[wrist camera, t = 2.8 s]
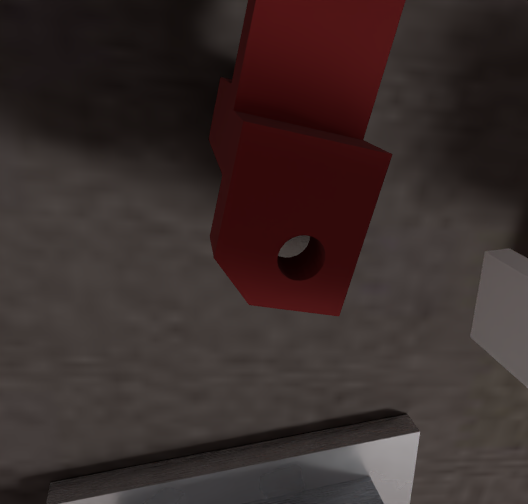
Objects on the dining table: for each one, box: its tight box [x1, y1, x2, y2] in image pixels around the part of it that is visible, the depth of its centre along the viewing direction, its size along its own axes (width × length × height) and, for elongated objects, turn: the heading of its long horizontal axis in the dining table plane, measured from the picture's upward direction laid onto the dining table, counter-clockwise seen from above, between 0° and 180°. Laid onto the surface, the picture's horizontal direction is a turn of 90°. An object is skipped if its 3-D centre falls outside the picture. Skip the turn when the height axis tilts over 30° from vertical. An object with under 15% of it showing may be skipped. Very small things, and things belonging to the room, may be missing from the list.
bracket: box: [209, 0, 405, 316], centre depth 10 cm, size 3×6×10 cm
